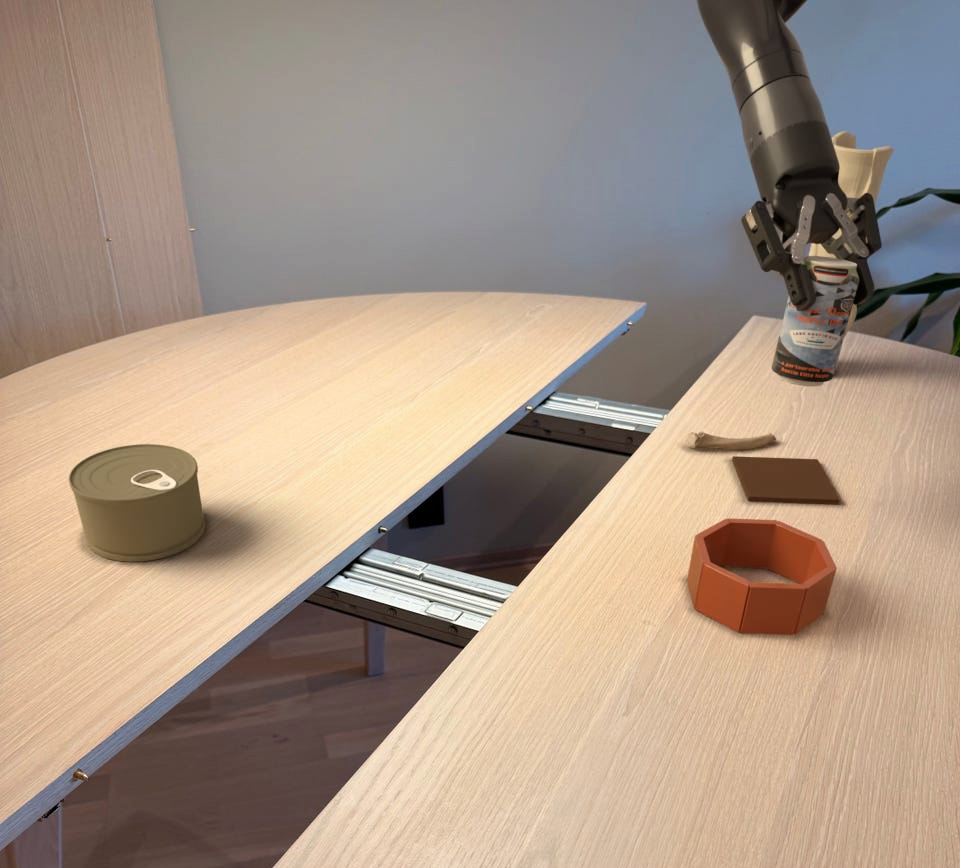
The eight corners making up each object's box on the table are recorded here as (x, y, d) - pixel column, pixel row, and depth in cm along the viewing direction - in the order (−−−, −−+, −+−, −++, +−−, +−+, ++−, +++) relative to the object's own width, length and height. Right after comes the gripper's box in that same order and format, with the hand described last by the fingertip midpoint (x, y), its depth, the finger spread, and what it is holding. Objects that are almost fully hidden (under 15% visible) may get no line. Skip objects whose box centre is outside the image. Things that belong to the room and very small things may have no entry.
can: (154, 492, 106) (142, 433, 102) (231, 526, 101) (223, 465, 97) (58, 537, 98) (42, 475, 94) (137, 576, 93) (123, 512, 89)
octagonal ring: (802, 565, 97) (814, 521, 94) (834, 636, 88) (848, 590, 85) (681, 561, 97) (689, 516, 94) (699, 632, 88) (708, 585, 85)
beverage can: (765, 389, 98) (790, 266, 90) (774, 362, 103) (799, 244, 96) (830, 399, 96) (861, 275, 89) (836, 371, 102) (865, 252, 94)
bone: (780, 448, 119) (784, 432, 117) (691, 453, 117) (693, 437, 116) (772, 439, 121) (775, 423, 119) (684, 444, 119) (686, 428, 118)
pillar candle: (773, 357, 143) (820, 129, 126) (829, 356, 144) (883, 129, 127) (794, 379, 137) (847, 141, 119) (853, 378, 137) (914, 142, 120)
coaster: (816, 463, 116) (817, 458, 115) (839, 504, 108) (840, 499, 107) (731, 460, 116) (732, 456, 115) (747, 501, 108) (748, 496, 107)
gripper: (745, 120, 89) (796, 291, 88) (873, 114, 94) (923, 277, 92) (705, 171, 97) (751, 330, 95) (825, 163, 101) (871, 315, 99)
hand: (836, 303), depth 94 cm, fingers closed on beverage can, 6 cm apart
